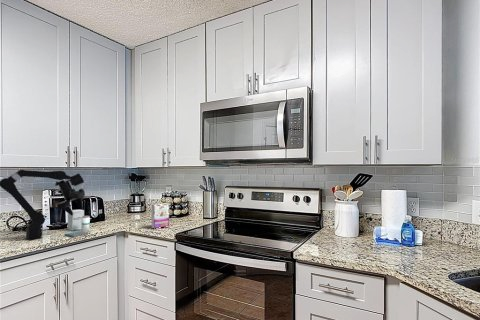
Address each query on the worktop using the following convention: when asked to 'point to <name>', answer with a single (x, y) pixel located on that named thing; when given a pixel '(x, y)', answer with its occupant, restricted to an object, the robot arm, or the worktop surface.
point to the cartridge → (85, 223)
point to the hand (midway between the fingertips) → (77, 211)
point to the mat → (76, 234)
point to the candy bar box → (160, 215)
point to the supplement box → (75, 219)
